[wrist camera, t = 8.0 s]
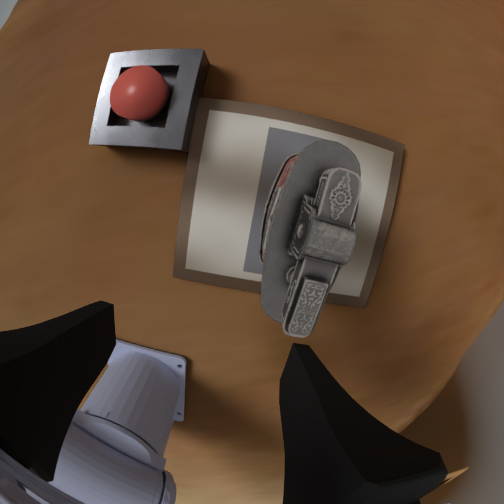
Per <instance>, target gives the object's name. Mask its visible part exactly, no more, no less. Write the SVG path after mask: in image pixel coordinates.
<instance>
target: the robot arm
mask: <svg viewBox="0 0 504 504" xmlns="http://www.w3.org/2000/svg"><path fill="white" fill-rule="evenodd" d="M107 362H108V368H107V370H106V371H105V373H104V374H103V376H102V377H101V379H100V380H99V382H98V383H97V385H96V386H95V388H94V389H93V391H92V393H91V394H90V396H89V397H88V399H87V400H86V402H85V403H84V405H83V407H82V408H81V410H79V409H78V406H79V405H80V403H81V401H82V400H83V398H84V396H85V395H86V393H87V392H88V390H89V389H90V387H91V386H92V384H93V383H94V382H95V380H96V379H97V377H98V376H99V374H100V373H101V371H102V370H103V368H104V367H105V365H106V364H107ZM186 362H187V361H186V359H185V358H184V357H182V356H179V355H174V354H170V353H166V352H162V351H158V350H154V349H150V348H146V347H142V346H139V345H135V344H131V343H128V342H124V341H121V340H118V339H116V334H115V322H114V305H113V304H111V303H107V302H104V301H98V302H95V303H92V304H89V305H87V306H84V307H82V308H79V309H77V310H74V311H72V312H69V313H67V314H64V315H62V316H59V317H56V318H53V319H50V320H48V321H45V322H42V323H39V324H36V325H32V326H28V327H24V328H20V329H15V330H9V331H2V332H0V504H175V499H176V484H175V482H174V480H173V476H172V475H171V473H170V472H168V471H166V470H164V466H165V463H166V459H165V458H163V455H164V452H165V449H166V445H167V442H168V438H169V435H170V432H171V428H172V425H173V421H174V420H175V421H183V420H184V406H185V381H186ZM179 365H182V366H179ZM279 404H280V413H281V422H282V431H283V439H284V449H285V478H284V496H283V504H420V500H419V499H420V498H422V497H423V496H424V495H426V494H427V493H429V492H430V491H431V490H433V489H434V488H435V487H437V486H438V485H439V484H440V483H441V482H442V481H443V480H444V479H445V478H446V476H447V474H448V471H447V468H446V466H445V464H444V462H443V460H442V457H441V455H440V453H439V452H436V451H433V450H431V449H429V448H426V447H424V446H421V445H419V444H417V443H415V442H412V441H411V440H409V439H407V438H405V437H403V436H401V435H400V434H398V433H396V432H395V431H393V430H391V429H390V428H388V427H387V426H386V425H384V424H383V423H381V422H380V421H378V420H377V419H376V418H374V417H373V416H372V415H371V414H369V413H368V412H367V411H366V410H365V409H364V408H363V407H361V406H360V405H359V404H358V403H357V402H356V401H355V400H354V399H353V398H352V397H351V396H350V395H349V394H348V393H347V392H346V391H345V390H344V389H343V388H342V387H341V386H340V384H339V383H338V382H337V381H336V380H335V379H334V377H333V376H332V375H331V374H330V372H329V371H328V370H327V369H326V367H325V366H324V365H323V364H322V362H321V361H320V360H319V358H318V357H317V356H316V354H315V353H314V352H313V350H312V349H311V348H310V347H309V345H304V344H297V343H293V345H292V348H291V351H290V354H289V356H288V359H287V362H286V365H285V368H284V370H283V373H282V376H281V379H280V391H279ZM445 504H450V502H447V503H445Z"/></svg>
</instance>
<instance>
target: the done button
mask: <svg viewBox="0 0 504 504" xmlns="http://www.w3.org/2000/svg"><path fill="white" fill-rule="evenodd" d="M168 98H169V86H168V83H167V81H166V80H165V79H164V78H163V77H162V76H161V75H160V74H159V73H158V72H157V71H156V70H155V69H154V68H152V67H150V66H146V65H139V66H134V67H132V68H129V69H128V70H126V71H124V72H123V73H122V74H121V75H120V76H119V77H118V78H117V79H116V81H115V82H114V84H113V86H112V88H111V92H110V105H111V107H112V109H113V111H114V112H115V113H116V114H118V115H119V116H122V117H124V118H127V119H130V120H132V121H136V122H142V121H147V120H149V119H152V118H153V117H155V116H156V115H158V114H159V113H160V112H161V111H162V109H163V108H164V107H165V105H166V103H167V101H168Z"/></svg>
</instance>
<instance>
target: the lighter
mask: <svg viewBox="0 0 504 504" xmlns="http://www.w3.org/2000/svg"><path fill="white" fill-rule="evenodd" d="M361 186H362V182H361V169H360V163H359V161H358V159H357V157H356V155H355V154H354V153H353V152H352V151H351V150H350V149H349V148H348V147H347V146H345V145H343V144H341V143H339V142H337V141H331V140H321V141H315V142H313V143H312V144H310V145H308V146H306V147H304V148H303V149H302V151H301V152H300V153H296V154H292V155H290V156H289V157H287V158H286V159H285V160H284V161H283V162H282V164H281V167H280V169H279V171H278V173H277V175H276V177H275V179H274V181H273V183H272V186H271V189H270V192H269V195H268V198H267V201H266V204H265V207H264V213H263V218H262V224H261V229H260V244H259V258H260V262H261V264H262V265H263V266H262V280H261V304H262V308H263V310H264V311H265V313H266V314H267V315H268V316H269V317H270V318H272V319H273V320H275V321H277V322H280V323H282V326H283V330H284V332H285V333H286V334H287V335H290V336H293V337H302V338H304V337H307V336H309V335H310V334H311V333H312V332H313V330H314V328H315V326H316V323H317V321H318V318H319V316H320V313H321V311H322V308H323V306H324V303H325V300H326V298H327V295H328V293H329V291H330V289H331V287H332V286H333V284H334V282H335V280H336V278H337V275H338V273H339V271H340V269H341V268H342V266H343V265H346V264H347V263H348V261H349V260H350V258H351V256H352V253H353V250H354V247H355V243H356V230H355V220H356V216H357V212H358V203H359V196H360V192H361Z"/></svg>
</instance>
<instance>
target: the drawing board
mask: <svg viewBox="0 0 504 504" xmlns="http://www.w3.org/2000/svg"><path fill="white" fill-rule="evenodd" d="M321 140H331V141H337V142H339V143H341V144H343V145H345V146H347V147H348V148H349V149H350V150H351V151H352V152H353V153H354V154H355V155H356V157H357V159H358V161H359V163H360V169H361V182H362V186H361V192H360V196H359V203H358V212H357V216H356V220H355V230H356V243H355V247H354V250H353V253H352V256H351V258H350V260H349V261H348V263H347V264H346V265H343V266H342V268H341V269H340V271H339V273H338V275H337V278H336V280H335V282H334V284H333V286H332V287H331V289H330V291H329V293H328V295H327V298H326V300H325V303H332V304H339V305H347V306H355V307H363V308H365V306H366V303H367V300H368V297H369V294H370V291H371V288H372V285H373V282H374V279H375V276H376V273H377V269H378V266H379V263H380V259H381V256H382V252H383V249H384V245H385V241H386V237H387V233H388V229H389V225H390V221H391V217H392V213H393V208H394V204H395V199H396V194H397V189H398V184H399V178H400V172H401V166H402V160H403V153H404V146H405V145H404V144H402V143H399V142H397V141H394V140H391V139H389V138H386V137H383V136H380V135H377V134H375V133H372V132H369V131H366V130H363V129H359V128H356V127H353V126H350V125H346V124H343V123H339V122H336V121H332V120H329V119H325V118H321V117H317V116H313V115H309V114H305V113H300V112H296V111H291V110H286V109H281V108H276V107H271V106H265V105H259V104H253V103H247V102H240V101H232V100H224V99H215V98H204V97H199V102H198V106H197V111H196V116H195V121H194V126H193V131H192V136H191V142H190V147H189V153H188V159H187V165H186V171H185V177H184V184H183V191H182V198H181V205H180V213H179V221H178V230H177V239H176V249H175V259H174V271H173V277H175V278H180V279H185V280H190V281H196V282H201V283H206V284H212V285H217V286H223V287H229V288H234V289H240V290H246V291H252V292H258V293H261V280H262V266H263V265H262V264H261V262H260V258H259V244H260V229H261V224H262V218H263V213H264V207H265V204H266V201H267V198H268V195H269V192H270V189H271V186H272V183H273V181H274V179H275V177H276V175H277V173H278V171H279V169H280V167H281V164H282V162H283V161H284V160H285V159H286V158H287V157H289V156H290V155H292V154H296V153H300V152H301V151H302V149H303V148H304V147H306V146H308V145H310V144H312V143H313V142H315V141H321Z"/></svg>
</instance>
